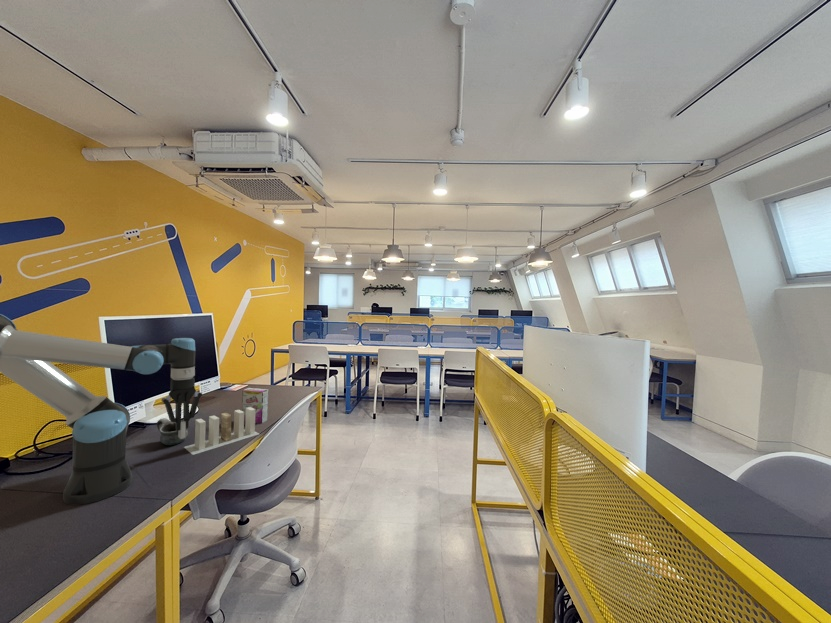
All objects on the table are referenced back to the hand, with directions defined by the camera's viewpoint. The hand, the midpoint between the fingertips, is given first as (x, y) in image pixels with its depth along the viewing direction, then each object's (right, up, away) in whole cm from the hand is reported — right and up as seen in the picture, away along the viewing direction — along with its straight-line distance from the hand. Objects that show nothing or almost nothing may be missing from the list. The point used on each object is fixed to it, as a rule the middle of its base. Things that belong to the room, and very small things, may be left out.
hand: (181, 437), depth 120 cm
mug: (-11, -6, +9) cm, 16 cm away
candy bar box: (+10, -7, +35) cm, 37 cm away
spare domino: (+9, -6, +13) cm, 17 cm away
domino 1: (+3, -6, +5) cm, 9 cm away
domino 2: (+6, -6, +9) cm, 13 cm away
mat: (+9, -7, +12) cm, 17 cm away
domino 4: (+15, -6, +21) cm, 27 cm away
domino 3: (+12, -6, +17) cm, 22 cm away
